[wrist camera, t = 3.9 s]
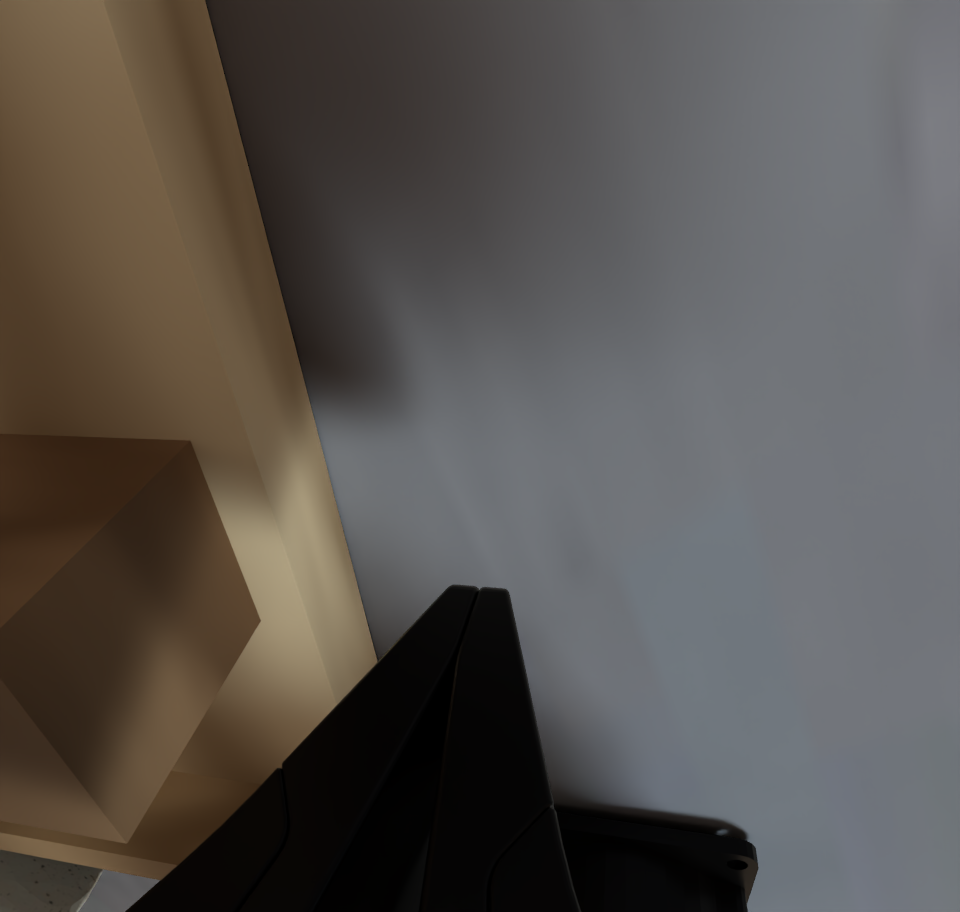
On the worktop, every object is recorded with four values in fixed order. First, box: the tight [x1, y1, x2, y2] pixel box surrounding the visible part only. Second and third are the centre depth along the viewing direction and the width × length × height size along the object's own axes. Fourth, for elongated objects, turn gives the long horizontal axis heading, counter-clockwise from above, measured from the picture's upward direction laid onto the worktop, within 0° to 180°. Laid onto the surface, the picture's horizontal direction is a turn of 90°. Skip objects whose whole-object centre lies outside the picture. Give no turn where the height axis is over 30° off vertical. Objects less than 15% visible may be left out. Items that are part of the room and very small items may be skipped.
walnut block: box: [0, 434, 261, 844], centre depth 10 cm, size 4×4×4 cm
